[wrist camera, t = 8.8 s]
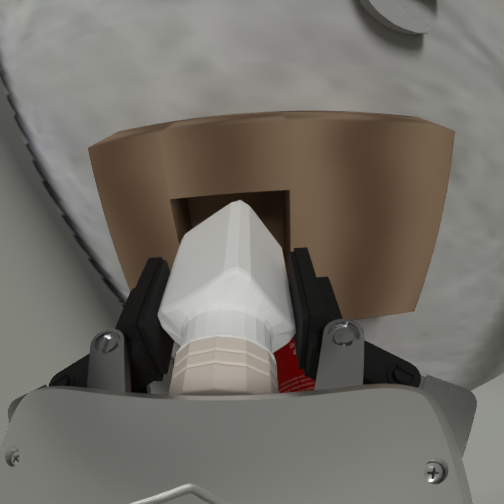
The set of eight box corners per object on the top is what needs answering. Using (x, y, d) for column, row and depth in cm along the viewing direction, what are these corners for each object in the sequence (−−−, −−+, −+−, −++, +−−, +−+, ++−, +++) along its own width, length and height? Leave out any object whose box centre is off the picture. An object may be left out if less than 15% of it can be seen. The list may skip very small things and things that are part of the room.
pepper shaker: (241, 190, 14) (236, 359, 6) (286, 249, 16) (318, 419, 8) (178, 234, 15) (124, 400, 7) (225, 284, 17) (215, 447, 9)
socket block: (417, 117, 15) (454, 131, 12) (394, 276, 21) (414, 311, 18) (119, 131, 15) (87, 147, 12) (159, 292, 22) (146, 330, 19)
